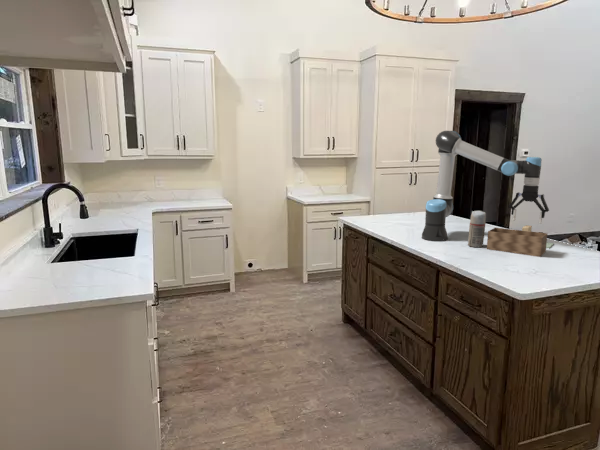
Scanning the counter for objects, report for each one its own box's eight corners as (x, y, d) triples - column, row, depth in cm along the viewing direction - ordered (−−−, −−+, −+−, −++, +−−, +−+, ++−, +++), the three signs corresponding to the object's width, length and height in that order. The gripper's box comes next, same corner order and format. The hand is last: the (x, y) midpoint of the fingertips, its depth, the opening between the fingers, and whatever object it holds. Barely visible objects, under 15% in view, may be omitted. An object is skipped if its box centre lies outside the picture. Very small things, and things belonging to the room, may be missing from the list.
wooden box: (486, 249, 226) (488, 231, 224) (493, 244, 235) (495, 227, 233) (540, 256, 209) (542, 237, 207) (545, 251, 218) (547, 233, 216)
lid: (498, 242, 242) (499, 225, 240) (504, 238, 251) (505, 222, 249) (548, 249, 225) (550, 231, 223) (553, 245, 234) (555, 227, 232)
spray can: (484, 245, 234) (487, 210, 230) (482, 248, 227) (485, 212, 223) (468, 243, 238) (471, 209, 235) (466, 246, 232) (468, 211, 228)
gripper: (505, 183, 236) (501, 220, 241) (555, 187, 220) (550, 226, 224) (509, 182, 242) (505, 218, 246) (558, 186, 226) (553, 223, 230)
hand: (526, 222), depth 235 cm, fingers open, 13 cm apart
